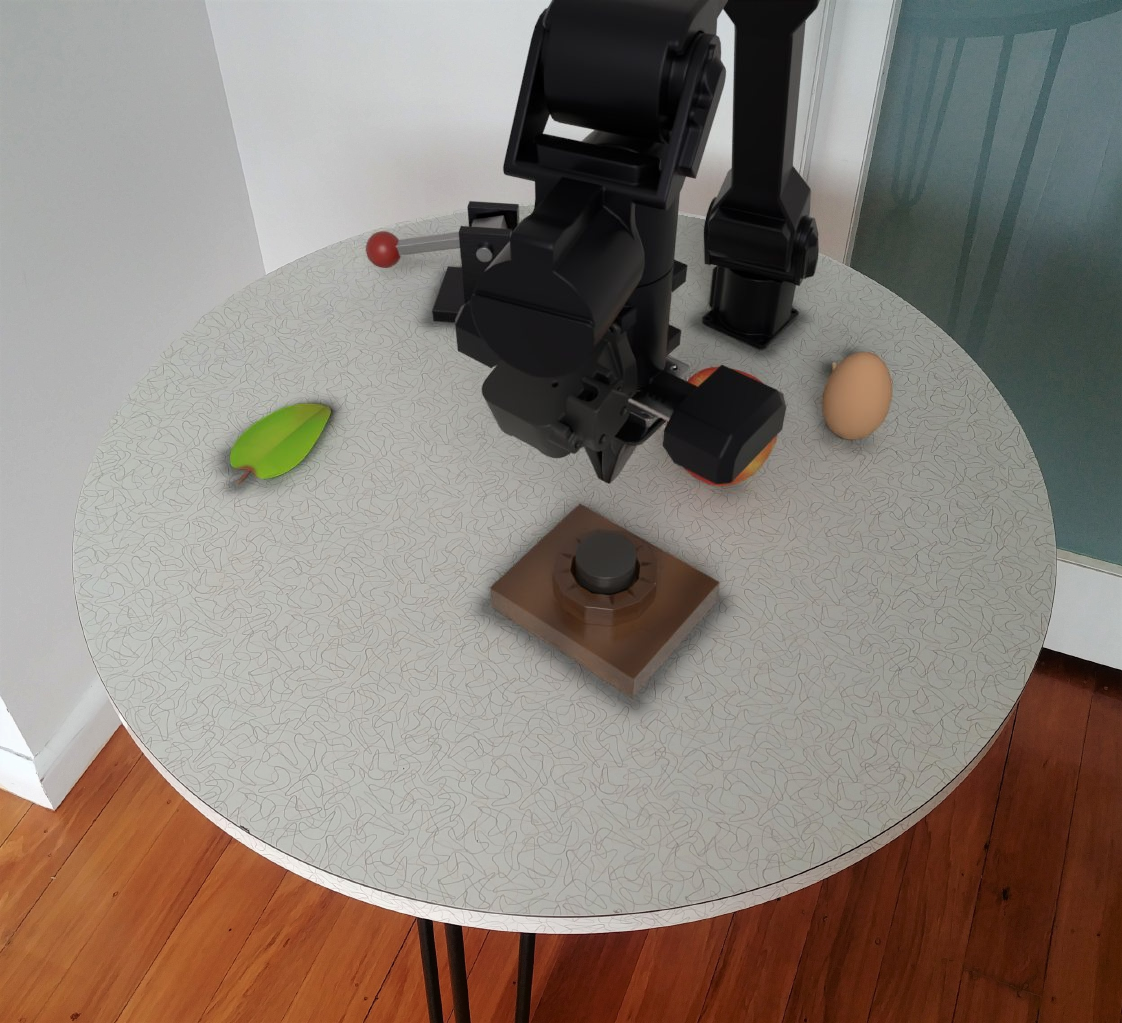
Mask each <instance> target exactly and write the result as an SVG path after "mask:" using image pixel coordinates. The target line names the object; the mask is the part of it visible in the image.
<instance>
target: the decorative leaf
mask: <svg viewBox="0 0 1122 1023" xmlns="http://www.w3.org/2000/svg"><path fill="white" fill-rule="evenodd" d="M331 413H332V409H331V407H329V406H327V405H323V404H320V403H314V402H305V403H297V404H292V405H288V406H285V407H281V408H279V409H276V410H274V411H273V412H271V413H269V414H267V415H265V416H264V417H262V418H260V419H259V420H257V421H256V422H255V423H253V424H252V425H250V426H249V427H248V428H247V429H245V431H244V432H242V434H240V436H239V437H238V438H237V439H236V441H235V443H234V444H233V445H232V447H231V450H230V453H229V463H230V465H231V467H232V468H234V469H236V470H243V471H244V470H245V472H244V474H243V475H242V477H241V478H240V479H239V480H238V481H237V482H236V483H237V485H240V484H241V483H242V481H244V479H245V478H246V477H248V475H249V474H250V472H251V473H252V474H253V475H254V476H255V478H258V479H262V480H267V479H271V478H276V477H278V476H281V475H283V474H285V473H287V472H289V471H291V470H292V469H294V468H295V467H296V466H297V465H299V464H300V463H301V462H302V461H303V460H304V458H306V456H307V454H309V453H310V451H311V450H312V448H313V447H314V446H315V444H316V443H317V441H318V439H319V437H320V435H321V434H322V432H323V430H324V429H325V426H326V425H327V423H328V421H329V419H330V416H331Z"/></svg>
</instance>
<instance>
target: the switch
mask: <svg viewBox="0 0 1122 1023" xmlns="http://www.w3.org/2000/svg"><path fill="white" fill-rule="evenodd" d="M472 227H487V228H502V229H508V228H507V224H506V221H505V217H504V216H496V217H489V218H481V219H474V221H473V224H472ZM454 249H455V250H456V249H460V243H459V231H455V232H448V233H447V232H446V233H440V234H439V233H438V234H432V235H425V236H424V235H423V236H415V237H409V238H400V239H399V237H397V236H396V235H395V234H394V233H392V232H390V231H385V230H379V231H376V232H375V233H372V235H370V237H369V238H368V239H367V241H366V244H365V253H366V256H367V259H368V260H369V261H370V262H371V264H373V265H374V266H376V267H378V268H381V269H388V268H392V267H394V266H395V265H396V264H398V262H399V261H400V260H401V257H402V256H409V255H414V254H415V255H417V254H423V253H431V252H439V251H448V250H454Z"/></svg>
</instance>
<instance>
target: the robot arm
mask: <svg viewBox="0 0 1122 1023" xmlns="http://www.w3.org/2000/svg"><path fill="white" fill-rule="evenodd" d="M820 2H821V0H550V3H549V5H548V6H547V7H546V8H544V9H543V10H542V12H540V14H539V16H538V18H537V20H536V23H535V25H534V28H533V31H532V35H531V38H530V43H529V47H528V53H527V57H526V61H525V65H524V70H523V75H522V78H521V84H520V88H519V93H518V97H517V103H516V106H515V111H514V115H513V119H512V124H511V128H510V133H509V138H508V142H507V147H506V151H505V156H504V161H503V166H502V171H503V174H504V176H507V177H512V178H517V179H522V180H525V181H531V182H534V207H533V210H532V212H531V213H529V215H527V216H526V217H524V218H523V219H522V220H521V221H519V225H518V226H517V227H516V228H515V229H514V230H513V232H512V233H511V236H510V241H509V243H508V244H507V245H506V246H505V247H504V249H503V250H502V251H501V252H500V253H499V255H498V256H497V257H496V258H495V259H494V260H493V262H492V263H491V264H490V265H489V266H488V268H487V269H486V270H485V271H484V272H483V274H482V275H481V276H480V278H479V279H478V281H477V282H476V285H475V288H474V291H473V295H472V296H471V299H470V301H469V302H467V303H466V304H464V305H463V306H462V307H461V308H460V310H459V312H458V315H457V317H456V319H455V323H454V326H455V327H454V328H455V336H456V338H455V339H456V346H457V352H459V353H461V354H462V355H464V356H466V357H469V358H470V359H472V360H474V361H476V362H478V363H480V364H482V365H484V366H486V367H488V368H490V369H492V370H491V372H490V373H489V374H488V375H487V376H486V378H485V379H484V380H483V383H482V385H481V394H482V397H483V399H484V401H485V402H486V404H487V407H488V408H489V410H490V412H491V414H492V416H493V418H494V420H495V421H496V424H497V426H498V428H499V429H500V431H501V432H503V433H504V434H506V435H508V436H509V437H514V438H516V439H518V440H519V441H522V442H523V443H524V444H527V445H529V446H531V447H532V448H534V449H536V450H537V451H538V452H540V453H541V454H543V455H545V456H546V457H548V458H551V459H562V458H565V457H567V456H570V454H573V455H575V454H577V453H579V451H580V450H581V449H583V448H584V450H585V452H586V454H587V456H588V458H589V461H590V464H591V465H592V468H593V470H594V472H595V474H596V477H597V478H598V479H599V480H600V481H603V482H604V483H605V484H608V485H610V484H612V482H613V481H615V480H616V479H617V478H618V476H619V475H621V473H622V471H623V469H624V468H625V467H626V465H627V463H628V461H629V459H630V458H631V456H632V455H633V453H634V452H635V450H636V449H637V446H641V445H642V444H644V443H646V441H648V439H649V438H651V437H652V436H653V435H654V434H655V433H656V432H657V431H658V430H660V428H662V426H664V425H665V423H666V426H665V427H664V430H663V438H662V447H663V448H664V450H665V451H666V453H667V455H668V456H669V458H670V459H671V461H672V462H673V463H674V464H675V465H677V466H679V467H681V468H683V469H684V468H685V469H687V470H689V471H691V472H693V473H695V474H697V475H699V476H701V477H702V478H704V479H706V480H708V481H710V482H712V483H714V484H727V483H732V482H733V481H734V480H735V479H736V478H737V477H738V476H739V475H740V473H741V472H742V471H743V470H744V469H745V468H746V467H747V466H748V465H749V464H750V463H751V462H752V461H753V460H754V459H755V458H756V457H757V456H758V455H759V453H760V452H761V451H762V450H763V449H764V448H765V447H766V446H767V445H768V444H769V443H770V442H771V441H772V440H773V439H774V438H775V437H776V436H777V435H779V434H780V432H782V430H783V427H784V422H785V417H786V416H785V415H786V413H787V404H786V400H785V395H784V393H782V392H781V391H780V390H778V389H777V388H774V387H772V386H770V385H768V384H765V383H764V382H763V383H761V382H759V381H757V380H755V379H753V378H750V377H748V376H746V375H744V374H742V373H740V372H737V371H735V370H733V369H734V368H732V369H731V367H728V366H726V365H724V364H720V365H719V366H717V367H718V368H717V369H716V370H715V371H714V372H713V373H712V374H711V375H710V376H709V377H708V378H707V379H705V380H704V381H703V382H702V383H701V384H700V385H699V386H696V385H694V384H691V383H689V382H687V379H686V378H687V377H688V376H689V375H690V374H691V365H689V364H687V363H685V362H683V361H681V360H678V359H676V358H674V357H672V356H670V354H671V353H672V352H673V351H674V350H676V349H677V348H678V347H679V346H680V345H681V337H682V329H681V328H678V327H676V326H673V325H671V324H670V319H671V318H670V317H671V306H672V295H673V293H674V292H675V291H676V290H677V289H679V288H680V287H681V286H682V285H684V284H685V282H687V275H688V264H686V263H685V262H681V261H679V260H677V259H675V258H676V257H675V256H676V255H675V254H676V246H677V244H676V242H677V232H678V222H679V221H678V220H679V210H680V209H679V208H680V196H681V191H682V189H683V187H684V184H685V181H686V178H691V179H694V180H696V179H697V176H698V173H699V170H700V166H701V163H702V160H703V156H704V153H705V150H706V146H707V143H708V140H709V137H710V134H711V131H712V128H713V124H714V121H715V118H716V114H717V111H718V108H719V104H720V100H721V97H722V94H723V91H724V87H725V84H726V78H727V68H726V66H725V64H724V63H723V60H722V42H721V38H720V36H719V35H717V34H718V32H717V30H718V18H719V17H720V15H721V13H722V11H724V13H725V14H726V16H727V17H728V18H729V20H730V21H731V23H732V25H733V28H734V34H733V36H734V39H733V80H732V81H733V82H732V125H731V126H732V130H731V131H732V132H731V168H730V169H729V170H728V171H727V173H726V175H725V177H724V180H723V182H722V184H721V186H720V188H719V191H718V194H717V196H714V197H713V198H712V199H711V201H710V204H709V206H708V208H707V209H708V210H707V212H706V215H705V219H704V224H703V225H704V226H703V260H704V262H703V263H704V265H708V266H714V267H713V268H712V271H711V281H710V288H709V289H710V290H709V297H708V306H709V308H711V309H710V310H709V311H708V312H706V313H705V314H704V315H703V316H702V318H701V323H702V325H704V326H706V327H709V328H711V329H712V330H715V331H718V332H720V333H721V334H724V335H727V336H728V337H731V338H733V339H735V340H737V341H740V342H742V343H744V344H746V345H749V346H751V347H753V348H756V349H757V350H765V349H766V348H767V347H769V345H770V344H771V343H773V342H774V341H775V339H777V338H778V337H779V336H780V335H781V334H782V333H783V332H784V331H785V330H786V329H787V328H788V327H790V326H791V324H793V322H795V320H797V319H798V317H799V315H800V314H799V313H800V312H799V310H798V309H796V308H794V307H793V304H794V298H795V292H796V288H797V287H800V286H801V284H802V283H803V280H806V279H807V278H812V277H814V276H815V274H816V271H817V265H818V259H819V252H820V246H819V230H818V225H817V221H816V218H815V217H812V216H810V215H811V200H812V199H811V198H812V197H811V196H812V190H811V187H810V186H809V185H808V184H807V182H806V181H805V179H804V178H803V177H802V176H801V174H800V173H799V171H798V170H797V169H796V167H795V166H794V157H795V156H794V154H795V144H796V134H797V123H798V112H799V111H798V110H799V101H800V100H799V99H800V88H801V78H802V66H803V56H804V45H805V33H806V24H807V20H808V19H809V18H810V17H811V15H813V13H814V12H815V11H816V10H817V8H818V6H819V4H820ZM550 117H551V119H552V120H553V121H554V122H557V123H559V124H564V125H568V126H574V127H578V128H583V129H588V130H592V131H591V132H590V133H588V134H587V135H586V136H585V137H584V138H583V139H582V140H577V139H573V138H566V137H562V136H559V135H552V134H549V133H544V132H545V129H546V127H547V124H548V121H549V118H550ZM667 421H668V423H667ZM777 437H778V436H777ZM685 469H684V470H685Z"/></svg>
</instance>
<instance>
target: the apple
mask: <svg viewBox="0 0 1122 1023" xmlns="http://www.w3.org/2000/svg"><path fill="white" fill-rule="evenodd" d="M718 367H719V366H711V367H706V368H703V369H701V370H699V371H697V372H695V373H694V374H693V375H691V376H690V377H689V378H688V379H686V381H687V382H689V383H691V384H694V385H696V386H699V385H700V384H701V383H702V382H703V381H704V380H705V379H707V378H708V377H709V376H710V375H711V374H712V373H713V372H714V371H715V370H716V369H717V368H718ZM730 368H731V367H730ZM731 369H733V370H735V371H737V372H740V373H742V374H744V375H746V376H748V377H750V378H753V379H755V380H757V381H759V382H761V383H764V382H763V381H762V380H761V379H759V378H757V376H754V375H753V374H751V373H748V372H746V371H742V370H740V369H736V368H731ZM667 423H668V421H667V422H666V424H667ZM778 435H779V434H778ZM778 435H777V436H776V437H775V438H774V439H773V440H772V441H771V442H770V443H769V444H768V445H767V446H766V447H765V448H764V449H763V450H762V451H761V452H760V453H759V455H758V456H757V457H756V458H755V459H754V460H753V461H752V462H751V463H750V464H749V465H748V466H747V467H746V468H745V469H744V470H743V471H742V472H741V473H740V475H739V476H738V477H737V478H736V479H735V480H734V481H733V482H732V483H727V484H714V483H712V482H710V481H708V480H706V479H704V478H702V477H701V476H699V475H697V474H695V473H693V472H691V471H689V470H687V469H685V468H683V469H684V470H685V471H686V472H687V473H688V474H690V475H691V476H692V477H693V478H695V479H697V480H698V481H700V482H702V483H705V484H706V485H710V486H715V487H728V486H733V485H736V484H739V483H741V482H743V481H746V480H747V479H750V477H753V475H754V474H755V473H757V472H758V471H759V469H761V468H762V466H764V464H765V463H766V461H767V460H768V458H769V457H770V455H771V453H772V451H773V449H774V447H775V445H776V443H777V440H778Z"/></svg>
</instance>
